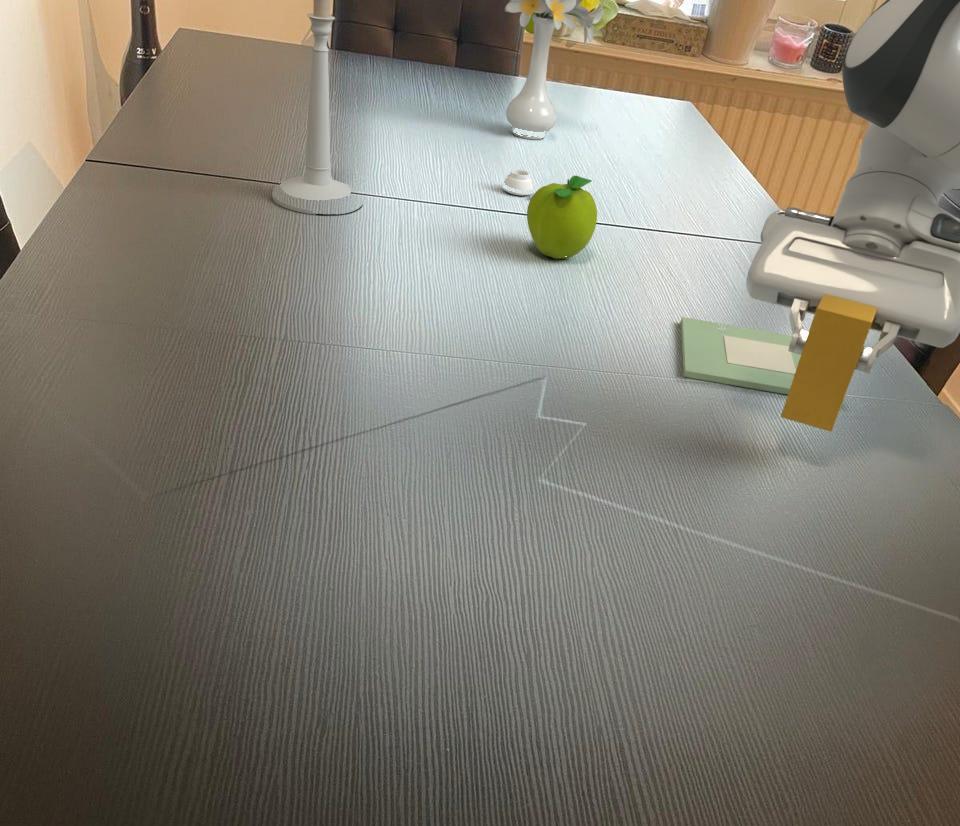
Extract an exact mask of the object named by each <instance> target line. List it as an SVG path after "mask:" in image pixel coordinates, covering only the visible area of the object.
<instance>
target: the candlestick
mask: <svg viewBox="0 0 960 826" xmlns="http://www.w3.org/2000/svg"><path fill="white" fill-rule="evenodd" d="M306 16H307V17H308V18H309V20H310V24H311V25H310V31H311V32H312V34H313V39H314V44H313V46H312V49H311V50H312V58H311V75H310V90H309V107H308V124H307V141H306V156H305V164H304V165H305V170H304V173H303V176H296V177H292V178H289V179H285V180H286V181H285V180H283V181H284V182H283V181H281V182H282V183H281V182H280V183H281V184H280V183H279V184H280V187H281V189H282V190H283V191H284V192H285V193H286V194H288V195H290V196H293V197H296V198H298V197H299V198H301V199H305V200H306V199H307V200H317V201H319V200H323V201H324V200H329V199H330V200H331V199H338V198H343V197H345V196H348V195H350V193H351V188H350V187H351V186H350V185H349V184H347V185H346V183H344V182H342V181H339V180H337V179H334V178H333V177H332V172H331V169H332V164H331V163H332V162H331V128H330V127H331V126H330V125H331V124H330V121H331V120H330V77H329V73H330V72H329V51H330V49H329V47H328V43H327V42H328V39H329V35H330V34H331V33H332V23H333V21H334V20H336V17H335V16H333V15H330V0H313V13H311V12H310V13H307V14H306ZM349 186H350V187H349ZM271 199H272V200H273V202H274V203H275V204H277V205H278V206H280V207H282V208H285V209H287V210H291V211H294V212H296V213H301V214H306V215H315V216H317V215H316V214H315V213H316V211H315V213H313V210H311V211H310V209H309V210H308V209H304V208H299V207H295V206H292V205H289V204H286V203H283V202H281V201H279V200H278V199H276V198H275V197H274V198H273V195H272V194H271Z"/></svg>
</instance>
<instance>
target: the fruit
mask: <svg viewBox="0 0 960 826" xmlns="http://www.w3.org/2000/svg"><path fill="white" fill-rule="evenodd" d="M566 180H567V181H566V182H567V183H562V184H561V183H555V182H552V183H549V184H547V185H544V186H541V187H540V188H538V189H537V190H536V191H534V193H533V194H532V196H531V198H529V199H530V200H529V202H528V205H527V209H526V221H527V227H528V230H529V233H530V237H531V238H532V241H533V243H534V245H535V246H536V249H538V251H539V252H540V253H541V254H542V255H544V256H546V257H549V258H551V259H554V260H558V259H559V260H560V259H570V258H572V257H574V256H575V255H577V254H578V253H580V252H582V251H583V250H584V249H585V248H586V246H587V245H588V244H589V242H591V240H592V237H593V235H594V233H595V230H596V226H597V221H598V209H597V203H596V201H595V198H594V196H593V195H592V194H591V193H590V192H589V191H587V190H584V189H583V188H582V187H585V186H586V185H588V184H589V183H591V182H593V180H592V179H588V178H585V177H581V176H579V175H572V176H571V177H570V179H569V178H567V179H566ZM573 255H574V256H573ZM565 256H567V257H565Z"/></svg>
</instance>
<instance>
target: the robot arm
mask: <svg viewBox="0 0 960 826" xmlns="http://www.w3.org/2000/svg"><path fill="white" fill-rule="evenodd" d="M841 67H842V68H841V69H842V70H841V71H842V73H841V74H842V75H841V76H842V86H843V92H844V96H845V100H846V104H847V107H848V110H849V111H850V112H851V113H853V114H855V115H856V116H858V117H860V118H862V119H864V120H865V121H868V122H869V124H868V127H867V129H866V131H865V134H864V136H863V139H862V141H861V144H860V147H859V150H858V155H857V165H856V168H855V170H854V172H853V174H852V175H851V176H850V177H849V179H848V180H847V182H846V184H845V186H844V189H843V192H842V194H841V196H840V199H839V202H838V204H837V207H836V210H835V212H834V215H832V216H831V215H828V214H823V213H819V212H811V211H806V210H802V209H801V208H798V207H794V206H787V207H786V209H779V210H776V211H774V212H772V213H770V214H769V216H767V218H766V220H765V222H764V223H763V224H764V225H763V227H762V230H761V233H760V242H761V244H760V246H759V248H758V250H757V251H756V253H755V255H754V257H753V260H752V262H751V264H750V265H749V268H748V270H747V275H746V279H745V280H746V281H745V282H746V283H745V286H746V290H747V292H748V295H749V297H750V298H751V299H754V300H757V301H760V302H765V303H769V304H772V305H776V306H780V307H783V308H788V309H790V311H789V317H788V320H789V324H790V328H791V332H792V336H793V337H792V340H791V342H790V346H789V350H788V351H789V352H793V353H797V354H800V355H801V354H802V351H803V348H804V345H805V342H806V339H807V336H808V333H809V330H806V329H804V327H803V323H802V322H803V321H804V320H805V317H806V315H807V314H809V315H813V316H814V315H815V312H816V309H817V307H818V305H819V303H820V301H821V299H822V297H823V296H824V294H828V295H832V296H836V297H839V298H843V299H847V300H851V301H855V302H859V303H863V304H866V305H870V306H874V307H877V311H876V314H875V316H874V319H873V322H872V325H871V327H870V330H871V331H874V332H875V331H876V332H878V333H880V335H879V337H878V342H877V343H875V344H874V345H873V346H872V347H869V346H865V345H864V346H863V348H862V351H861V354H860V356H859V359H858V362H857V364H856V367H855V371H856V370H857V371H860V372H863V373H864V374H865V373H866V374H870V373H871V371H872V368H873V365H874V363H875V360H876V359H878V358H879V357H880V356H882V355H883V354H884V353H885V352H886V351H887V350H889V349H890V348H891V347H892V346H893V345H894V343H895V341H896V339H897V337H898V338H902V339H906V340H909V341H913V342H916V343H921V344H924V345H928V346H932V347H936V348H940V349H943V348H945V347H948V346H949V345H951V344H952V343H954V342H955V341H956V339H957V338H958V336H959V334H960V219H959V218H958V217H957V216H955V215H953V214H951V213H950V212H948V211H947V210H945V209H943V208H942V207H940V206H939V203H940V202H939V201H940V199H941V197H942V196H943V194H945V192H947V191H949V190H952V191H960V0H885V1H884V2H883V3H882V4H881V5H880V6H879V7H877V8H876V9H875V10H874V11H873V12H872V13H871V14H870V15H869V16H868V17H867V18H866V19H865V21H864V22H863V24H862V25H861V26H860V27H859V28H858V29H857V31H856V33H855V34H854V35H853V37H852V39H851V40H850V42H849V43H848V45H847V48H846V49H845V52H844V55H843V58H842V66H841Z"/></svg>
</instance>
